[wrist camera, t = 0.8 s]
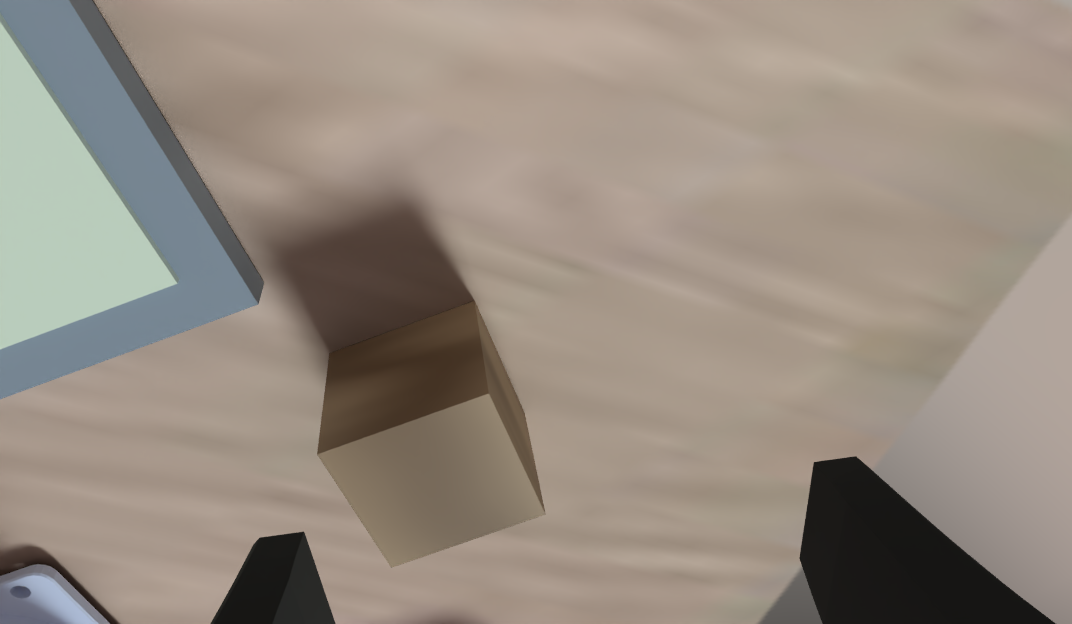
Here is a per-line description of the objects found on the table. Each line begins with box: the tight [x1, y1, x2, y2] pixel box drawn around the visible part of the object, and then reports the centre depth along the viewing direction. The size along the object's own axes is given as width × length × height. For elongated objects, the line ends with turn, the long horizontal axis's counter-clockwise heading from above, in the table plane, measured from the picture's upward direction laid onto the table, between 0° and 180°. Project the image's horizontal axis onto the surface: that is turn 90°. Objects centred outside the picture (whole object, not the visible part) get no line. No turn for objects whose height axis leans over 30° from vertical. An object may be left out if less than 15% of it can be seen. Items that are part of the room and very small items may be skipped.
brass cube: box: [317, 301, 545, 568], centre depth 21 cm, size 4×4×4 cm
